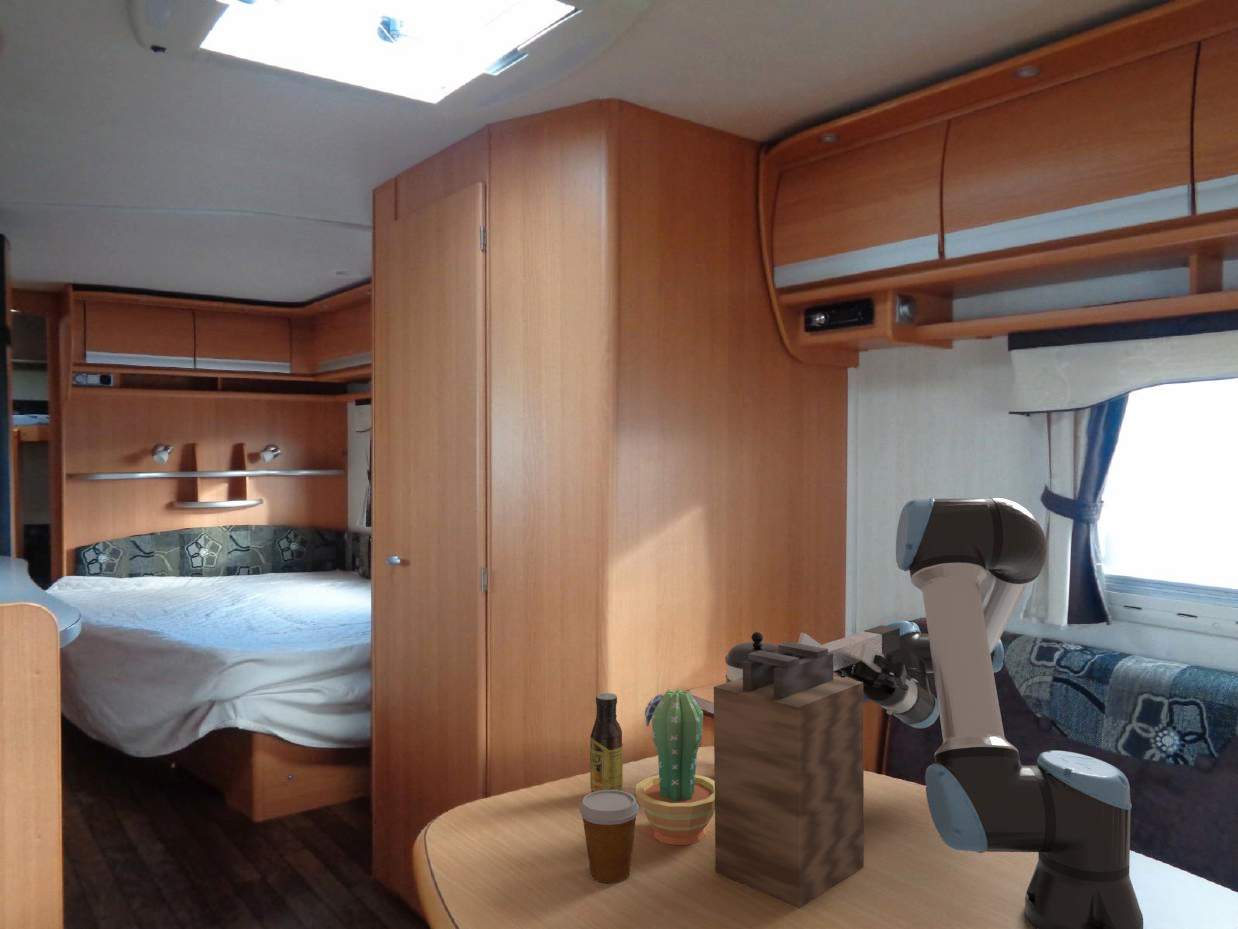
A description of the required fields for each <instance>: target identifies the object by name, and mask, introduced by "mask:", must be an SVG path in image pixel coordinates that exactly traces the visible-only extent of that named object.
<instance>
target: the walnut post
mask: <svg viewBox="0 0 1238 929" xmlns="http://www.w3.org/2000/svg"><path fill="white" fill-rule="evenodd" d="M801 655H802V656H807V658H804V659H801ZM713 738H714V739H713V744H714V745H713V748H714V749H713V753H714V756H713V757H714V759H713V760H714V762H713V763H714V765H713V766H714V781H715V810H714V831H715V832H714V838H715V839H714V848H715V849H714V850H715V852H714V853H715V854H714V858H715V859H714V860H715V873H716V874H718V875H720V876H723V877H726V878H727V879H730V880H733V881H734V882H737V883H739V884H741V885H745V886H747V887H748V888H751V889H753V890H756V891H759V892H761V893H763V894H766V895H768V896H770V897H772V898H775V899H778V900H780V901H782V902H784V903H786V904H789V905H791V906H793V907H796V908H802V907H803V906H805V905H806V904H808V903H810V902H811V901H812V900H814V899H815V898H817V897H819V896H821V895H822V894H823V893H825V892H827V891H828V890H829V889H831V888H833V887H834V886H836V885H837V884H839V883H841V882H842V881H843V880H845V879H847V878H848V877H851V875H853V874H855V873H856V872H857V871H860V870H861V869H862V868H864V866H865V858H864V857H865V854H864V853H865V852H864V851H865V848H864V847H865V835H864V834H865V833H864V831H865V827H864V826H865V825H864V824H865V823H864V820H865V819H864V818H865V816H864V814H865V812H864V807H865V804H864V803H865V801H864V799H865V798H864V791H865V790H864V785H865V784H864V782H865V780H864V770H865V769H864V763H865V762H864V693H863V682H859V681H856V680H853V679H851V678H846V677H845V678H842V677H840V676H839V677H838V676H834V672H833V653H829V652H828V649H826V648H821V647H815V646H810V645H804V644H799V643H798V642H793V641H792V642H791V641H787V642H782V643H780V644H778V651H776V652H773V653H771V652H766V651H761V650H759V651H756V652H753V653H749V654H748V660H747V661H744V662H743V677H742V678H739V679H736V680H733V681H730V682H727V683H726V682H724V683H722V684H718V685H715V686H713Z"/></svg>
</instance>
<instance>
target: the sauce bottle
mask: <svg viewBox="0 0 1238 929" xmlns="http://www.w3.org/2000/svg"><path fill="white" fill-rule="evenodd" d="M595 703H596V717H595V721H594V725H593V727H592V730H591V733H590V736H589V739H590V740H589V743H590V746H589V748H590V749H589V754H590V755H589V756H590V757H589V758H590V759H589V760H590V761H589V763H590V764H589V766H590V768H589V769H590V775H589V776H590V778H589V779H590V790H591V791H590V793H592V792H596V791H600V790H620V791H623V775H624V774H623V771H624V770H623V766H624V765H623V764H624V763H623V762H624V761H623V760H624V759H623V758H624V757H623V756H624V755H623V752H624V751H623V750H624V748H623V730H622V727H621V725H620V723H619V721H618V720H617V704H618V696H617V695H616V694H614V693H609V692H605V693H603V692H602V693H598V694H597V695H596V698H595Z"/></svg>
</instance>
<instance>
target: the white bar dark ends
mask: <svg viewBox="0 0 1238 929" xmlns="http://www.w3.org/2000/svg"><path fill="white" fill-rule="evenodd" d="M863 643H865V644H868V645H869V646H871V647H872V648H873V649H874V650H876V651H877V652H878V653H880V654H881V655H883V654H885V653H888V652H891V651H894V650H897V649H899V648H900V628H896V627H889V626H886V625H883V624H881V625H877V626H875V627H871V628H869V629H865V630H863V631H861V632H859V633H855V634H851V635H849V636H845V637H842V638H840V639H836V640H832V641H829V642H826V643H824V644H821V645H820V646H817V647H821V648H826V649H828V652H829V653H833V671H835V670H838V669H841V668H844V667H847V666H849V665H852V664H853V665H856V663H858V662H861V660H860V659H859V656H860V652H861V648H862V645H863ZM804 658H807V656H802V655H801V659H804Z"/></svg>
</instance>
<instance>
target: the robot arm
mask: <svg viewBox="0 0 1238 929" xmlns="http://www.w3.org/2000/svg"><path fill="white" fill-rule="evenodd" d="M896 529H897V530H896V536H895V537H896V538H895V539H896V540H895V559H896V560H895V561H896V564H897V568H898V569H899V570H901V571H904V572H908V571H909V575H910V582H911V584H912V585H913V586H914V587H916V588H917V589H919V591H921V592H922V597H923V598H922V599H923V605H924V613H925V620H926V626H927V632H928V633H921V630H920V627H919V625H918V624H917V623H915V622H913V621H910V622H909V621H908V620H898V621H893V622H890V623H888V624H886V625H885V626H889V627H896V628H900V648H899V649H897V650H894V651H891V652H888V653H885V654H880V653H878V652H877V651H876V650H874V649H873V648H872V647H871V646H869V645H868V644H865V643H863V645H862V648H861V652H860V656H859V659H860V660H861V662H858V663H855V664H852V665H849V666H847V667H844V668H841V669H838V670H835V671H833V674H836V675H837V677H838V676H839V677H840V678H845V679H846V677H847V678H848V679H850V680H854V681H859V682H863V695H864V696H866V697H867V698H868V699H869V700H871V701H872V702H874V703H875V704H876V705H878V706H880V707H881V708H883V709H884V710H886V714H887V715H893V716H894V717H896V718H897V719H899V721H900V722H902V723H903V724H906V725H907V726H910V727H912V728H915V729H926V728H928V727H931V726H932V725H933V724H934V723H935V722H936V721H937V719H938V717H939V718H940V719H939V721H940V726H941V727H940V728H941V734H942V740H943V741H942V743H941V745H940V746H939V747H938V749H937V750H936V751H935V753H934V762H935V763H932V764H930V765H928V766H927V768H926V770H925V776H924V779H925V780H924V781H925V782H924V783H925V786H926V787H925V795H926V799H927V800H926V801H927V804H928V808H929V812H930V816H931V819H932V822H933V824H934V827H935V829H936V832H937V833H938V834H939V837H940V838H941V840H942V841H943V843H944V844H945V845H946V846H948V847H949V848H950V849H952V850H956V851H963V852H966V851H967V852H976V853H978V854H983V853H986V852H988V853H993V852H994V853H995V852H996V853H997V852H999V853H1037V854H1038V857H1037V859H1038V860H1037V864H1036V866H1035V869H1034V870H1033V874H1032V875H1031V878H1030V882H1029V883H1028V886H1027V888H1026V889H1027V890H1026V892H1025V897H1024V913H1025V916H1026V918H1027V920H1028V921H1029V922H1030V924H1032V925H1033V926H1034V928H1036V929H1144V915H1143V913H1142V910H1141V908H1140V907H1141V906H1140V905H1139V904H1140V903H1139V901H1138V899H1137V898H1138V897H1137V895H1136V892H1135V889H1134V887H1133V883H1132V880H1131V877H1130V861H1131V860H1130V858H1131V856H1130V855H1131V851H1130V850H1131V810H1132V802H1131V792H1130V783H1129V780H1128V778H1127V777H1126V775H1125V773H1123V772H1122V771H1121V770H1120V769H1119V768H1118V767H1116V766H1114V765H1112V764H1110V763H1108V762H1106V761H1104V760H1101V759H1098V758H1096V757H1092V756H1089V755H1086V754H1082V753H1078V752H1072V751H1067V750H1066V751H1065V750H1046V751H1043V752H1040V754H1039V756H1038V758H1037V760H1036V761H1037V765H1023V764H1021V760H1020V754H1019V750H1018V749H1017V748H1016V747H1015V746H1014V745H1013V744H1011V743H1010V742H1008V740H1007V739H1006V738H1005V732H1004V726H1003V720H1002V714H1001V709H1000V705H999V704H1000V703H999V698H998V691H997V686H996V680H995V674H994V673H997V672H999V671H1001V669H1002V668H1003V666H1004V658H1005V654H1004V653H1005V651H1004V650H1005V649H1004V646H1003V642H1002V640H1001V638H1002V635H1003V633H1004V631H1005V629H1006V627H1007V625H1008V623H1009V621H1010V619H1011V617H1012V614H1013V613H1014V611H1015V609H1016V607H1017V606H1018V603H1019V601H1020V598H1021V597H1022V595H1023V593H1024V591H1025V588H1026V586H1027V585H1028V584H1031V583H1032V582H1034V581H1035V580H1037V578H1038V577H1039V575H1040V574H1041V572H1042V570H1043V568H1044V565H1045V563H1046V559H1047V556H1048V555H1047V553H1048V547H1047V545H1048V544H1047V539H1046V536H1045V533H1044V532H1045V531H1044V530H1043V528H1042V526H1041V524H1040V523H1039V521H1038V520H1037V518H1036V517H1035V516H1034V515H1033V514H1032V513H1031V512H1030V511H1029V510H1028V509H1026V508H1025V507H1023V506H1022V505H1020V504H1019V503H1017V502H1015V501H1012V500H1009V499H1006V498H1002V497H1000V498H999V497H988V498H986V497H984V498H973V497H972V498H968V497H967V498H935V497H930V498H924V499H923V498H922V499H911V500H909V501H908V502H906V503H905V505H904V506H903V507H902V509H901V511H900V515H899V519H898V523H897V528H896ZM797 643H799V644H804V645H810V646H815V647H817V646H820V645H822V644H821V643H820V642H818V641H817V640H815V639H814V638H813V637H811V636H810V635H808V634H807V633H805V632H800V634H799V638H798V641H797ZM928 674H933V676H934V684H935V692H936V696H935V695H934V693H932V691H931V690H930V686H929V680H928V678H929V677H928Z"/></svg>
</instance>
